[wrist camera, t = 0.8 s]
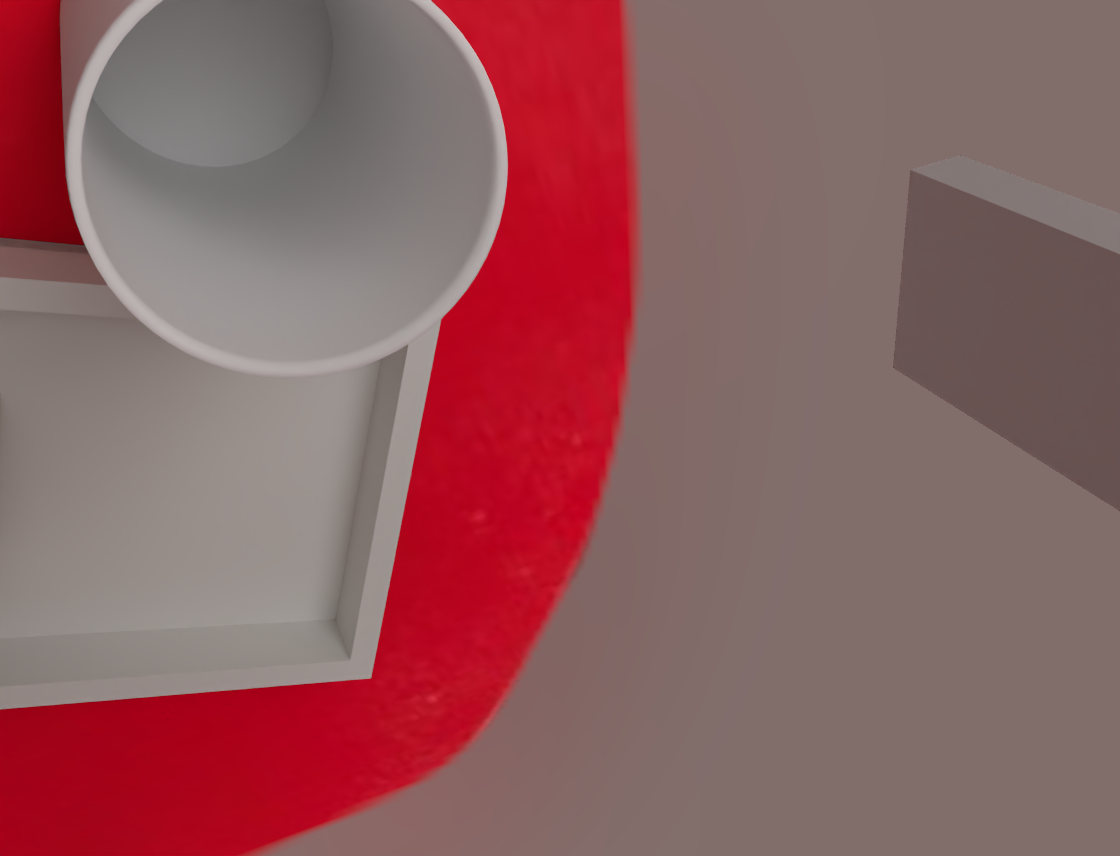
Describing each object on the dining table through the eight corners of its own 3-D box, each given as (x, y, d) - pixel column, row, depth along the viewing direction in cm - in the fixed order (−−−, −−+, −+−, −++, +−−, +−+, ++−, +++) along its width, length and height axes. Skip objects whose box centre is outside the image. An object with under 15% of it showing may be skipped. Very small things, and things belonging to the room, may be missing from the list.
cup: (312, -123, 32) (487, -82, 19) (358, 147, 36) (526, 329, 23) (19, -93, 29) (-7, -22, 16) (106, 192, 33) (139, 424, 21)
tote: (-215, 659, 36) (-237, 729, 34) (-255, 213, 30) (-286, 254, 27) (351, 625, 45) (371, 678, 43) (414, 276, 39) (442, 312, 36)
